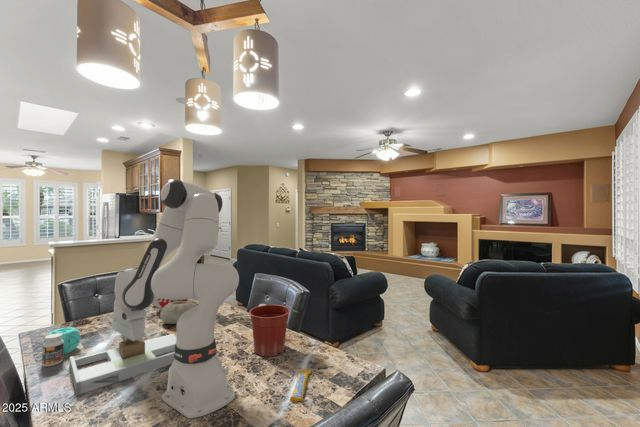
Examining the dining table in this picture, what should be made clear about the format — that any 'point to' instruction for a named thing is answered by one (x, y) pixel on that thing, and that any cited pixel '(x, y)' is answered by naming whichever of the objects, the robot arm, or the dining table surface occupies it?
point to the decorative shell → (175, 311)
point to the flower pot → (269, 329)
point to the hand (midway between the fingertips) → (126, 345)
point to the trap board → (121, 364)
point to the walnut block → (131, 348)
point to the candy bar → (300, 385)
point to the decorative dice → (68, 338)
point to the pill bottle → (53, 350)
